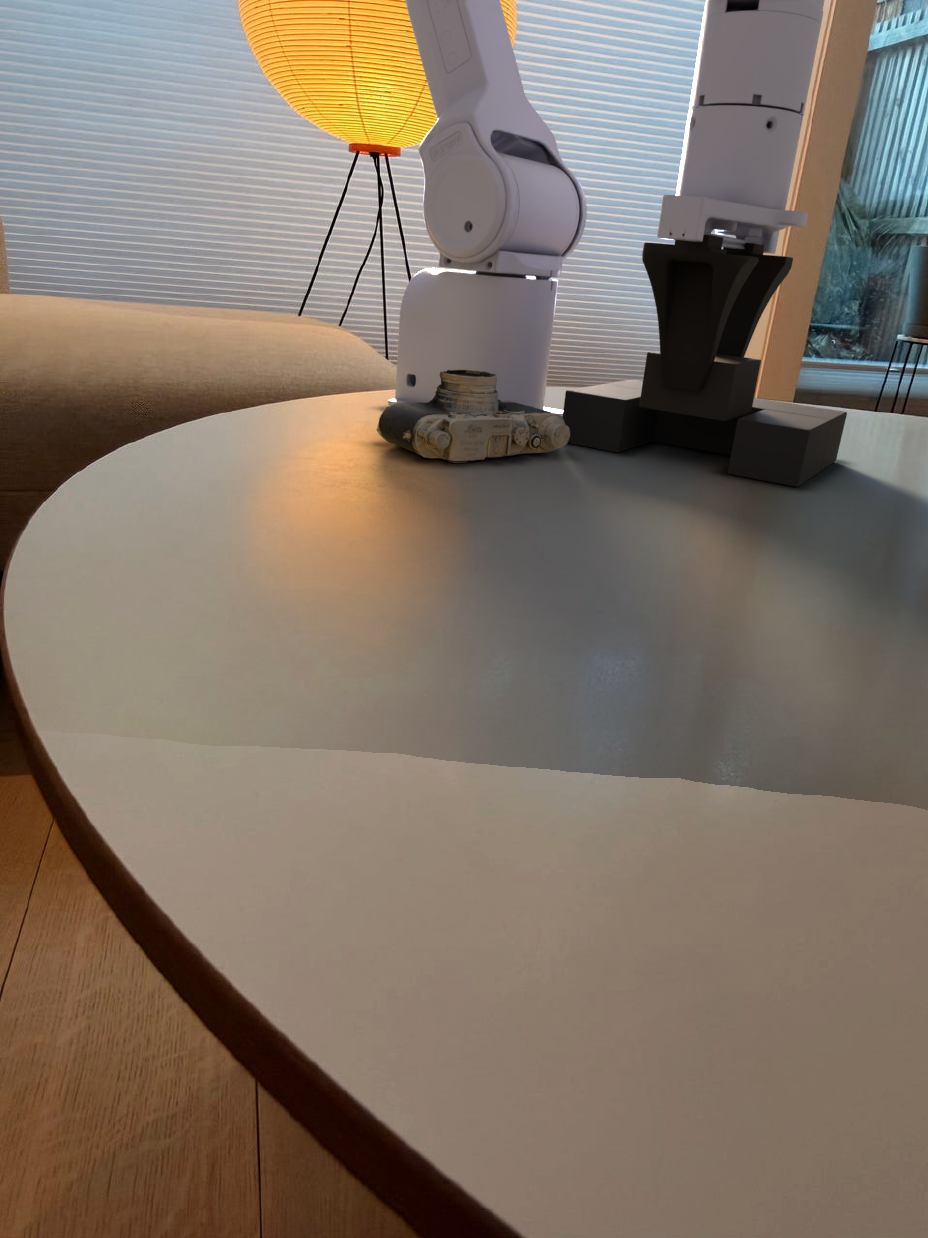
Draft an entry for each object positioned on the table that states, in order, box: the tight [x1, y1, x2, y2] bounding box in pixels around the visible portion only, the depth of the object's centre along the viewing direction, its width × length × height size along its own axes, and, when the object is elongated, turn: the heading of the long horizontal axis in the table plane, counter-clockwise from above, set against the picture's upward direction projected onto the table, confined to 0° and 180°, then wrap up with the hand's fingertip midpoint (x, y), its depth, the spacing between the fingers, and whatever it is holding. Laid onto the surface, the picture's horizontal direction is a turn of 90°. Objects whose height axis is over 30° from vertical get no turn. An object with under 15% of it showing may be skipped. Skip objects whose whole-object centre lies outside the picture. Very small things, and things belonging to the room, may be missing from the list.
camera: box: [376, 369, 570, 464], centre depth 50 cm, size 5×10×4 cm, turn 123°
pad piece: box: [639, 350, 762, 421], centre depth 53 cm, size 5×5×3 cm
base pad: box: [562, 378, 848, 488], centre depth 56 cm, size 14×10×3 cm
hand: (698, 385), depth 53 cm, fingers closed on pad piece, 5 cm apart
